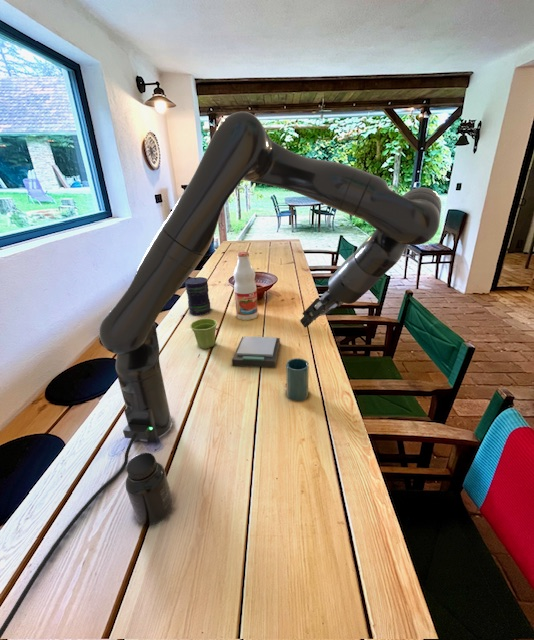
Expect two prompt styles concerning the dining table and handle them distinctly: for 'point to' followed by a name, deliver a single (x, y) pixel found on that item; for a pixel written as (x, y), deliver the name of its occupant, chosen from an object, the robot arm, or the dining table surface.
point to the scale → (256, 352)
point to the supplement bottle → (148, 489)
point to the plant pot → (204, 332)
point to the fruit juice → (245, 288)
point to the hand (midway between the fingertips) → (314, 317)
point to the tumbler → (297, 379)
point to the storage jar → (198, 296)
